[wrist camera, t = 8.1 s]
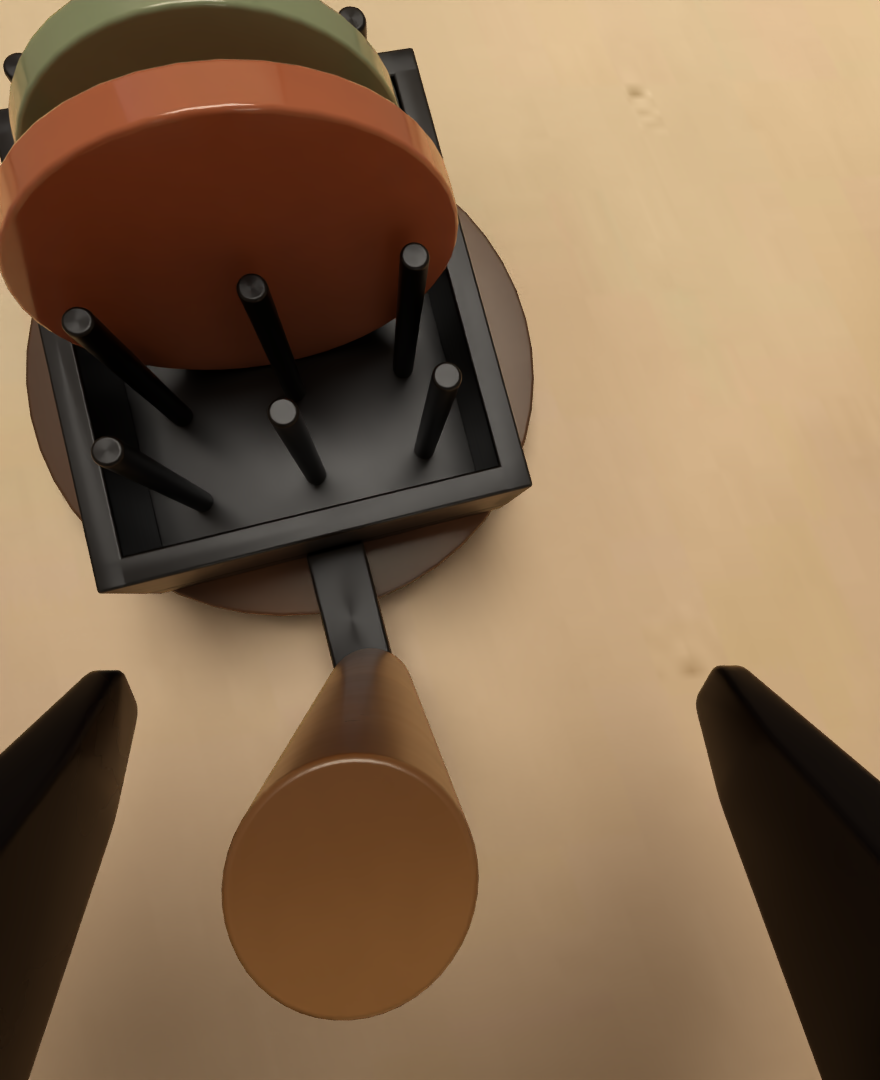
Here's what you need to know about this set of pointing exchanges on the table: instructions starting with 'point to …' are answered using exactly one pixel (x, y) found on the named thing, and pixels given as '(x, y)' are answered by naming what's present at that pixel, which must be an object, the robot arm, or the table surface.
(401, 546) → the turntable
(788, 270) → the table surface
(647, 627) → the table surface
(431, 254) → the dish rack
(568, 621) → the table surface
